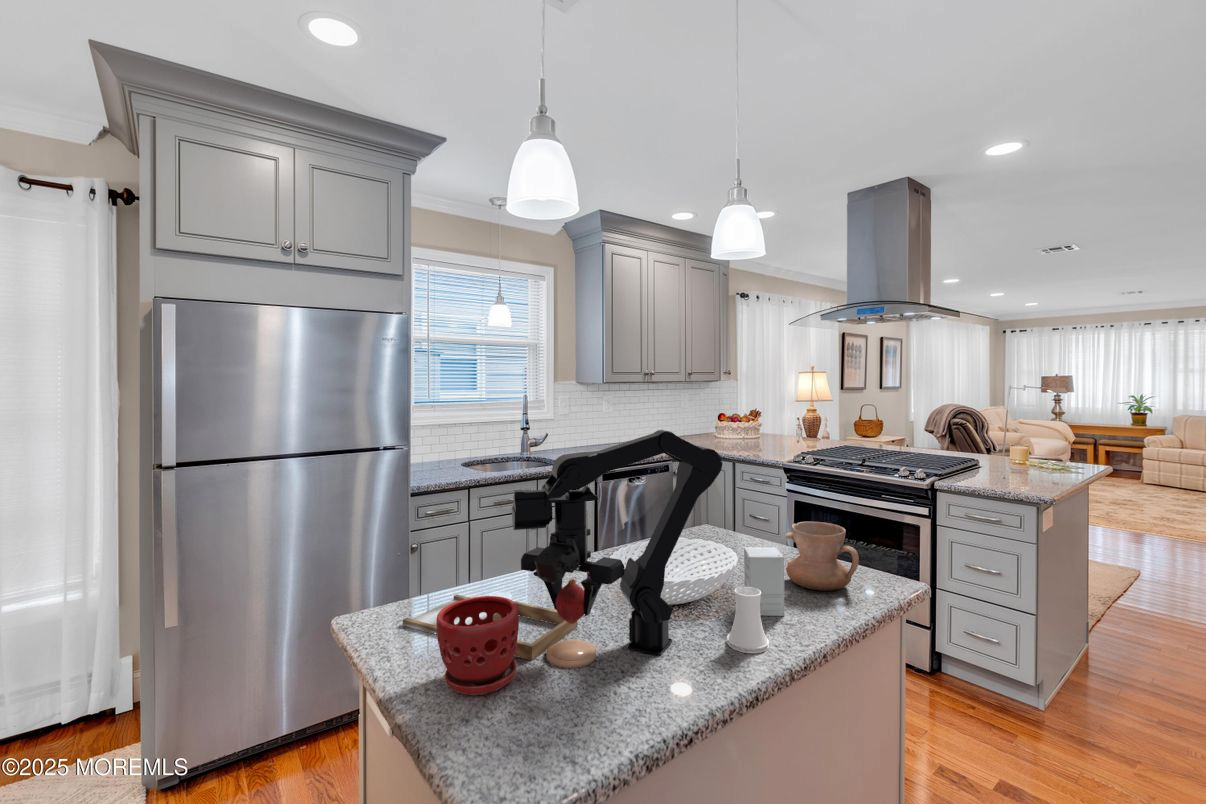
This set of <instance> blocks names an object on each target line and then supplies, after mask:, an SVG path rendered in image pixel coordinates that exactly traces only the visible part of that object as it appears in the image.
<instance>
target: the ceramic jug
mask: <svg viewBox="0 0 1206 804" xmlns="http://www.w3.org/2000/svg"><path fill="white" fill-rule="evenodd" d="M846 532H847V531H846V529H845V528H844V527H843V526H840V525H838V524H833V523H831V522H829V523H828V522H823V521H822V522H820V521H800V522H797V523H793V524H792V525H791V532H786V533H785V535H784V538H786V539H791V540H792V541H793V542H794V543H795V545H796V548H797V551H798V553H799V556H797V557H795V558H793V559H792V560H790V561H788V562H786V564H787V565H786V568H785V569H786V574H787V577H788V578H789V579H790V580H791V581H792V583H795V584H796V585H798V586H801V588H806V589H810V590H814V591H825V592H826V591H827V592H828V591H836V590H840V589H843V588H845V587H847V586H848V585H849V584H850V582H852V578H853V575H854V574H855V572H856V571H857V569H858V567H859V561H860V560H859V558H860V557H859V553H858V551H857V550H856V549H855V548H854V547H852V546H850V545H844V541H845V538H846ZM844 552H848V553H849V554H850V555H851V566H850V568H849V569H848V568H847V567H846V566H845V565H844V564H842V562H840V561H839V560H838V559H837V558H838V556H839V555H841V554H842V553H844Z"/></svg>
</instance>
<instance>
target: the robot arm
mask: <svg viewBox="0 0 1206 804" xmlns="http://www.w3.org/2000/svg"><path fill="white" fill-rule="evenodd" d="M662 454H664V455H666V456H668V457H669V458H671V459H672V460H674V461H676V462H678V465H677V469H676V478H675V486H674V488H673V491H672V493H671V496H669V499H668V502H667V503H666V505H665V508H664V510H663V511H662V514H661V516H660V518H659V521H658V523H656V526H655V529H654V530H653V533H652V534H651V537H650V539H649V541H648V543H647V545H646V547H645V549H644V551H643V553H642V554H641V555H640V556H639V557H638V558H636V559H633V558H631V557H628V559H627V561H626V564H624V563H623V561H622V559H620V558H613V557H606V556H603V557H601V558H600V559H598V560H596V561H589V560H588V559H589V558H591V557H592V556H591V555H592V553H591V551H589V550H588V537H589V536H591V529H590V528H587V527H588V526H587V525H588V524H587V520H588V519H587V518H588V517H587V510H588V509H587V502H591V501H597V500H598V495H596V494H595V493H594V492H592V490H591V487H589V486H588V485H589V484H592V483H594V482H595V481H596V480H598V479H599V478H600V477H602V476H603V475H605V474H607V473H608V472H611V471H614V470H617V469H621V468H623V467H627V466H629V465H630V466H631V465H633V464H635V463H638V462H641V461H645V460H647V459H650V458H653V457H655V456H659V455H662ZM722 468H723V461H722V458H721V455H720V454H719V453H718V452H717V451H716V450H714V449H712V448H707V447H705V446H699V445H696V444H693V443H691V442H689V441H687V440H685V439H683V438H681V437H679V436H678V435H676V434H675V433H674V432H672V431H669V430H664V429H657V430H656V431H654V432H653V433H650V434H647V435H643V436H641V437H637V438H634V439H631V440H627V441H625V442H622V443H619V444H616V445H612V446H608V447H606V448H603V449H600V450H593V451H582V452H581V451H580V452H573V453H565V454H562V455H560V456H558V457H557V458H556V459H554V462H553V464H552V468H551V474H550V475H549V476H548V478H547V479H546V481H545V482H544V483H543V485H542V487H541V489H533V490H523V489H514V491H513V498H512V506H511V519H512V520H511V522H512V523H511V524H512V529H513V530H514V531H520V530H531V529H532V530H533V529H534V530H535V529H545V528H547V525H550V523H551V522H553V505H554V532H551V533H550V536H549V543H548V544H549V545H548V546H546V547H535V548H533V549H531V550H528V551H526V552H524V553H523V554H522V556H521V557H520V570H521V571H529V572H533V573H532V574H533V575H534V576H535V577H538V578H539V579H541V581H542V582H543V583H544V585H545V587H546V589H547V592H548V593H549V594H548V595H549V597H550V600H551V603H552V605H553V607H554V610H556V598H557V595H558V593H559V592H560V590H561V589H562V588H563V579H564V577H565V575H566V573H570V574H573V573H574V572H583V573H586V577H585V579H583V580H582V581H580V584H581V585H582V588H583V590H584V617H587V616H589V615H590V613H591V610H592V608H593V607H594V603H595V601H596V598H597V596H598V594H599V591H600V589H601V587H602V586H603V585H611V584H613V583H615V582H617V581H618V580H619V579H621V580H620V583H619V588H620V591H621V594H622V595H623V596H624V598H625V599H626V600H627V602H628V604H630V606H631V607H632V608H633V609H634V610H633V611H631V617H630V618H629V620H628V625H629V626H628V628H629V629H628V633H629V634H628V636H629V637H628V639H629V643H628V644H627V648H628V649H629V650H633V651H637V652H642V653H646V654H650V655H654V656H661V655H662V654H663V652H665V651H666V649H668V647H669V646H670V645H671V644H672V642H673V639H672V638H670V637H669V635H670V633H669V629H670V628H669V626H670V625H669V621H670V619H671V617H672V614H673V608H672V606H671V605H670V604H669V603H668V602H667V601H666V600H665V599H664V598H663V597H662V596H661V595H662V592H663V589H664V585H665V576H666V575H665V574H666V572H665V571H666V566H667V564H668V561H669V559H670V558H671V555H672V553H673V551H674V549H675V547H676V545H677V542H678V540H679V539H680V538H681V537H680V536H681V534H682V533H683V530H684V528H685V526H686V525H687V522H688V521H689V520H688V519H689V517H690V515H691V514H692V511H693V509H694V507H695V505H696V503H697V501H698V499H699V497H700V496H701V495H702V494H704V493H705V492H706V491H707V490H708V489H709V488H710V487H711V486H712V484H714V482H715V481H716V479H717V478H718V476H719V474H720V473H721V472H722Z"/></svg>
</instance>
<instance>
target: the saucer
mask: <svg viewBox="0 0 1206 804" xmlns="http://www.w3.org/2000/svg"><path fill="white" fill-rule="evenodd" d="M545 652H546V660H547V662H548V663H550V664H551V665H553V666H555V667H559V668H562V669H565V668H566V669H574V668H575V669H576V668H581V667H584V666H588V665H590V664H592V663H593V662H594V661H595V660H596V659H597V653H598V651H597V647H596V646H595V645H594V644H593V643H592V642H588V641H585V640H582V639H581V640H580V639H568V640H559V641H558V642H557V643H555V644H553V645H551V646H550V647H549V648H548V649H547V650H546V651H545Z"/></svg>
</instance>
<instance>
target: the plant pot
mask: <svg viewBox="0 0 1206 804" xmlns="http://www.w3.org/2000/svg"><path fill="white" fill-rule="evenodd" d="M515 602H516V601H515ZM515 602H514V600H512V599H510V598H509V597H508V598H507V597H503V596H498V595H483V596H475V597H470V598H468V599H464V600H460V601H457V602H454V603H452V604H450V605H448V606H446V607H445V608H443V609H442V610H441V611H440V612H439V613H438V615H437V621H436V622H437V635H436V636H437V638H436V639H437V643H438V648H439V653H440V657H441V659H442V663H443V664H444V667H445V668H446V670H445V672H444V680H445V683H446V684H447V686H448V687H449V688H450V689H452V691H454V692H456V693H459V694H461V695H470V696H472V695H474V696H475V695H476V696H481V695H485V694H488V693H493V692H495V691H497V690H500V689H502V688H503V687H505V686H506V685H508V684H509V683H510V682H511V681H512V679H513V678H515V675H516V673H517V670H518V664H517V660H515V658H514V657H515V656H514V655H515V651H516V647H517V640H518V636H519V628H520V625H519V623H520V619H519V618H520V616H518V608H517V605H516V603H515ZM482 612H485V613H486V614H487V617H486V618H485V619H481V618H480V617H479V614H480V613H482ZM495 613H498V614H499V615H500V616H501V618H502V619H500V620H497V621H495V622H494V621H493V615H494V614H495ZM507 614H509V615H507ZM457 617H459V622H458V624H454V620H455V618H457ZM468 617H471V618H472V623H471V624H469V625H467V624H466V623H465V621H466V619H467V618H468ZM477 624H478V625H477ZM475 625H476V626H475Z"/></svg>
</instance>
